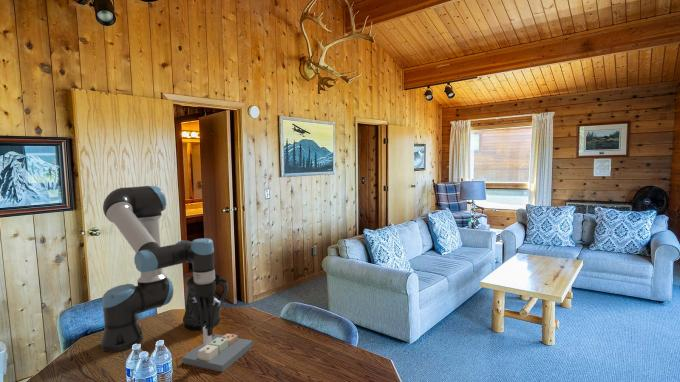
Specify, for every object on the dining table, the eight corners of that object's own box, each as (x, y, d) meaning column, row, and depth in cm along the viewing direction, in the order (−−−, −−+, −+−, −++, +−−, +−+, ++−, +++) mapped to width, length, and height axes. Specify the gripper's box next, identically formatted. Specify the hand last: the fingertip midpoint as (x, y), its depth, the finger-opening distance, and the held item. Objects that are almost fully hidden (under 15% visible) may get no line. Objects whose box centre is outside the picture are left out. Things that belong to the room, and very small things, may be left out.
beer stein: (177, 323, 171) (174, 271, 169) (217, 311, 184) (215, 262, 182) (191, 335, 159) (188, 279, 157) (233, 321, 172) (230, 269, 170)
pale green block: (209, 351, 141) (208, 342, 141) (217, 345, 146) (217, 336, 146) (220, 354, 140) (219, 344, 139) (228, 347, 144) (228, 338, 144)
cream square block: (198, 360, 136) (197, 350, 135) (207, 353, 140) (207, 344, 140) (209, 362, 134) (208, 352, 134) (218, 355, 139) (217, 346, 138)
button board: (182, 363, 137) (182, 357, 137) (216, 339, 155) (216, 334, 155) (222, 372, 131) (222, 365, 131) (252, 346, 149) (252, 340, 148)
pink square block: (219, 347, 147) (219, 338, 147) (227, 341, 152) (227, 332, 151) (230, 349, 145) (229, 340, 145) (237, 343, 150) (237, 334, 150)
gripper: (182, 282, 133) (186, 345, 135) (212, 286, 129) (215, 350, 131) (197, 276, 140) (200, 336, 142) (225, 279, 136) (228, 341, 138)
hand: (207, 343), depth 137 cm, fingers closed
